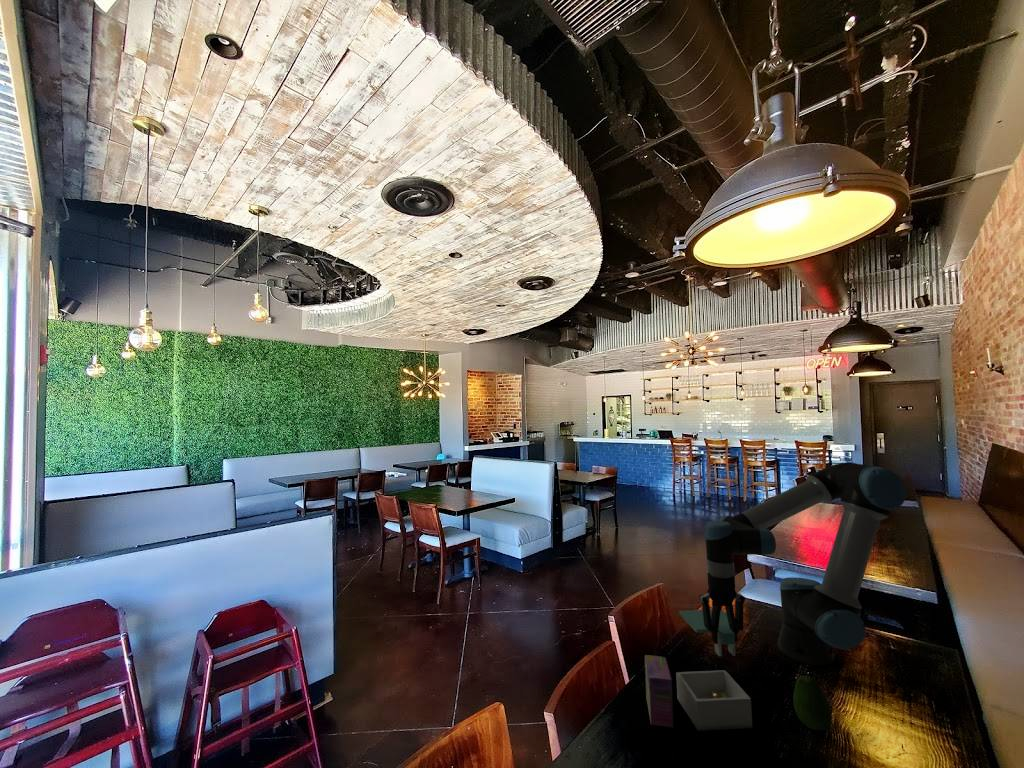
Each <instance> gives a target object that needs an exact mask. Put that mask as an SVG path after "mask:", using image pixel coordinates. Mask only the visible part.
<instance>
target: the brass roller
mask: <svg viewBox="0 0 1024 768" xmlns="http://www.w3.org/2000/svg"><path fill="white" fill-rule="evenodd" d="M711 698H729V695H728V693H727V692H726V691H714V692H710V699H711Z"/></svg>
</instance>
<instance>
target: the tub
mask: <svg viewBox="0 0 1024 768" xmlns="http://www.w3.org/2000/svg"><path fill="white" fill-rule="evenodd" d="M675 677H676V696H677V701H678V702H679V704H680V705H681V706H682V708H683V710H684V711H685V713H686V715H687V716H688V717H689V720H690V721H691V722H692V724H693V725H694V727H695V729H696V730H697V731H698V732H700V731H701V732H702V731H704V732H705V731H718V730H719V731H723V730H724V731H725V730H739V729H740V730H741V729H753V715H752V714H753V713H752V699H751V697H750V696H749V695H748V694H747V693H746V692H745V690H743V688H742V687H741V686H740V685H739V684H738V683H737V682H736V680H735V679H734V678H733V677H732V676H731V675H730V673H728V671H726V670H725V669H723V670H722V669H721V670H717V669H716V670H703V671H702V670H700V671H699V670H698V671H697V670H696V671H681V672H680V671H677V672H675ZM714 691H726V692H727V693H728V695H729V698H711V699H710V692H714Z"/></svg>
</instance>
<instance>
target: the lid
mask: <svg viewBox="0 0 1024 768" xmlns="http://www.w3.org/2000/svg"><path fill="white" fill-rule="evenodd" d="M678 613H679V616H680V617H681V618H682V619H683V620H684V621H685V622H686V623H687V624H688V626H690V628H692V629H693V631H694V632H695V633H696V634H702V633H703V634H705V633H711V631H709V630H708V629H707V628H706V627H705V626H704V618H703V609H694V610H693V609H692V610H678ZM710 615H712V609H710ZM738 631H739V632H744V629H743V630H738ZM718 632H719V633H720V634H721V645H728V644H735V645H736V643H735V642H734V633H733V632H732V631H731V630H730V627H729V622H728V618H727V614H726V611H724V610H723V609H722V610H721V611H720V619H719V628H718Z"/></svg>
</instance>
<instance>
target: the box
mask: <svg viewBox="0 0 1024 768" xmlns="http://www.w3.org/2000/svg"><path fill="white" fill-rule="evenodd" d="M644 667H645V668H644V670H645V671H644V672H645V698H646V703H647V710H648V716H649V721H650V722H649V723H650V725H651V726H657V727H663V728H674V713H673V712H674V710H673V709H674V708H673V706H674V704H673V678H672V676H671V672H670V669H669V664H668V661H667V657H665V656H660V655H659V656H658V655H650V654H649V655H647V654H645V655H644Z"/></svg>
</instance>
